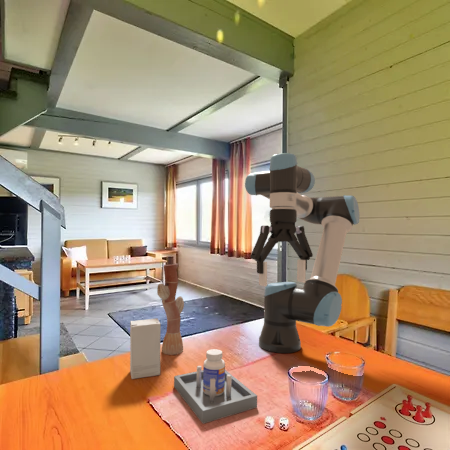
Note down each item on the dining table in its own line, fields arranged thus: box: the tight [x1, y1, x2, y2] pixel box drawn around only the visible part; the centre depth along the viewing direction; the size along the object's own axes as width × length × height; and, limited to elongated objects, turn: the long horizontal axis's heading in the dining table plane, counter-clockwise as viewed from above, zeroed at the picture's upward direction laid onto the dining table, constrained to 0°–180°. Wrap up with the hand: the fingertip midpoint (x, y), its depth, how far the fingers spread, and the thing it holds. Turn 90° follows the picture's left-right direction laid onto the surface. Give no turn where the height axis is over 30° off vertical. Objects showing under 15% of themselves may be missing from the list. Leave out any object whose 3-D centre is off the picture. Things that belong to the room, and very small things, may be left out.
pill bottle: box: [202, 348, 226, 396], centre depth 77 cm, size 5×5×10 cm
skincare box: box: [129, 318, 162, 380], centre depth 89 cm, size 8×6×15 cm
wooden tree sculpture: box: [156, 263, 185, 356], centre depth 106 cm, size 10×7×30 cm
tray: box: [173, 365, 258, 424], centre depth 77 cm, size 18×14×6 cm
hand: (282, 283), depth 87 cm, fingers open, 13 cm apart
